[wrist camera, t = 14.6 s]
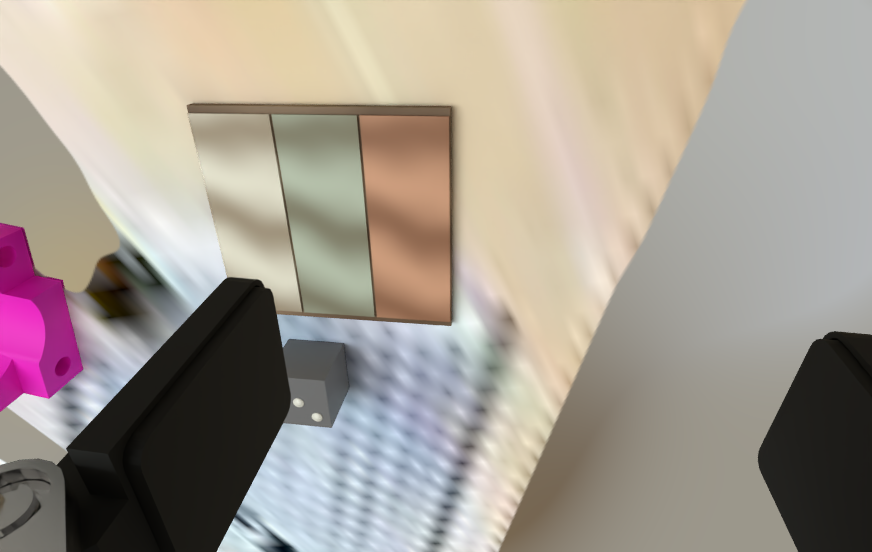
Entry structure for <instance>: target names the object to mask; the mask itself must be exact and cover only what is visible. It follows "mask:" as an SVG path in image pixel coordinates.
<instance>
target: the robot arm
mask: <svg viewBox="0 0 872 552" xmlns="http://www.w3.org/2000/svg"><path fill="white" fill-rule="evenodd" d="M290 404H291V392H290V387H289V381H288V375H287V370H286V364H285V359H284V353H283V347H282V342H281V336H280V330H279V325H278V319H277V313H276V308H275V302H274V296H273V293H272V291H271V289H269V288H265V287H264V284H263V283H262V281H260V280H259V279H248V278H237V277H228V278H226V279H225V280H224V281H223V282H222V283H221V284H220V285H219V286H218V287H217V288H216V289H215V290H214V291H213V292H212V293H211V294H210V296H209V297H208V298H207V299H206V300H205V301H204V302H203V303H202V304H201V305H200V306H199V307H198V308H197V309H196V310H195V312H194V313H193V314H192V315H191V316H190V317H189V318H188V319H187V320H186V321H185V322H184V323H183V324H182V325H181V326H180V328H179V329H178V330H177V331H176V332H175V333H174V334H173V335H172V336H171V337H170V338H169V339H168V340H167V341H166V342H165V343H164V345H163V346H162V347H161V348H160V349H159V350H158V351H157V352H156V353H155V354H154V355H153V356H152V357H151V358H150V359H149V361H148V362H147V363H146V364H145V365H144V366H143V367H142V368H141V369H140V370H139V371H138V372H137V373H136V374H135V375H134V377H133V378H132V379H131V380H130V381H129V382H128V383H127V384H126V385H125V386H124V387H123V388H122V389H121V390H120V391H119V393H118V394H117V395H116V396H115V397H114V398H113V399H112V400H111V401H110V402H109V403H108V404H107V405H106V406H105V407H104V408H103V410H102V411H101V412H100V413H99V414H98V415H97V416H96V417H95V418H94V419H93V420H92V421H91V422H90V423H89V424H88V426H87V427H86V428H85V429H84V430H83V431H82V432H81V433H80V434H79V435H78V436H77V437H76V438H75V439H74V440H73V442H72V443H71V444H70V445H69V446H68V447H67V448H66V449H67V451H68V453H67V455H66V456H65V457H64V458H63V459H62V460H61V461H60V462H59V463H58V464H57V465H55V464H54V463H53V462H51V461H47V460H42V459H25V460H18V461H14V462H10V463H6V464H3V465H0V552H217V550H218V548H219V546H220V544H221V542H222V540H223V538H224V536H225V534H226V532H227V530H228V528H229V526H230V525H231V523H232V521H233V519H234V517H235V515H236V513H237V511H238V509H239V507H240V505H241V503H242V501H243V499H244V497H245V496H246V494H247V492H248V490H249V488H250V486H251V484H252V482H253V480H254V478H255V476H256V474H257V472H258V470H259V469H260V467H261V465H262V463H263V461H264V459H265V457H266V455H267V453H268V451H269V449H270V447H271V445H272V443H273V442H274V440H275V438H276V436H277V434H278V432H279V430H280V428H281V426H282V424H283V422H284V420H285V418H286V416H287V414H288V412H289V409H290ZM758 463H759V468H760V471H761V474H762V476H763V478H764V480H765V482H766V484H767V486H768V488H769V491H770V493H771V495H772V497H773V499H774V501H775V503H776V505H777V507H778V509H779V512H780V514H781V516H782V518H783V520H784V522H785V524H786V526H787V529H788V531H789V533H790V535H791V537H792V539H793V541H794V544H795V546H796V547H797V550H798V552H872V335H870V334H857V333H846V332H836V331H834V332H830V333H828V334H827V335H825V336H824V338H823V339H818V340H816V341H814V342H813V343H812V345H811V346H810V348H809V350H808V352H807V354H806V356H805V358H804V361H803V362H802V364H801V367H800V368H799V371H798V373H797V374H796V376H795V379H794V381H793V383H792V385H791V387H790V389H789V391H788V393H787V395H786V397H785V399H784V401H783V403H782V405H781V407H780V409H779V411H778V413H777V415H776V417H775V419H774V421H773V423H772V425H771V427H770V429H769V431H768V433H767V435H766V437H765V439H764V441H763V443H762V445H761V447H760V450H759V454H758Z"/></svg>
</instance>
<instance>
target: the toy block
mask: <svg viewBox="0 0 872 552" xmlns="http://www.w3.org/2000/svg"><path fill="white" fill-rule="evenodd" d="M32 266H33V267H35V265H34V262H33V258H32V255H31V251H30V247H29V244H28V240H27V237H26V233H25V229H24V228H23V227H18V226H14V225H8V224H4V223H0V412H1V411H2V410H3V409H4V408H6V407H7V406H8V405H9V404H11V403H12V402H13V401H14V400H16V399H17V398H18V397H19V396H20V395H22V394H23V393H26V394H30V395H35V396H39V397H44V398H48V399H49V398H50V397H51V396H53V395H54V394H55V393H56V392H57V391H58V390H60V389H61V388H62V387H63V386H64V385H65V384H67V383H68V382H69V381H70V380H71V379H72V378H74V377H75V376H76V375H77V374H78V373H79V372H81V371H82V370H83V367H82V363H81V359H80V355H79V351H78V347H77V343H76V339H75V335H74V331H73V327H72V323H71V319H70V315H69V311H68V307H67V303H66V299H65V295H64V291H63V288H64V289H65V286H64V282H63V280H61V279H57V278H52V277H47V276H46V277H47V278H44V277H40V276H35V274H34V271H33V267H32Z"/></svg>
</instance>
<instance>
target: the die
mask: <svg viewBox="0 0 872 552" xmlns="http://www.w3.org/2000/svg"><path fill="white" fill-rule="evenodd" d="M283 353H284V359H285V364H286V370H287V375H288V381H289V387H290V392H291V404H290V409H289V412H288V414H287V416H286V418H285V420H284V422H283V423H289V424H299V425H309V426H319V427H329V428H332V426H333V424H334V421H335V419H336V417H337V415H338V412H339V410H340V408H341V405H342V403H343V401H344V399H345V396H346V394H347V392H348V390H349V382H348V374H347V366H346V358H345V351H344V343H333V342H319V341H306V340H293V339H289V340H288V341H287V343H286V344H285V346H284V347H283Z"/></svg>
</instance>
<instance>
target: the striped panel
mask: <svg viewBox="0 0 872 552" xmlns="http://www.w3.org/2000/svg"><path fill="white" fill-rule="evenodd" d="M187 109H188V113H187V114H188V118H189V122H190V126H191V130H192V134H193V138H194V143H195V147H196V151H197V155H198V159H199V163H200V167H201V171H202V176H203V180H204V184H205V188H206V192H207V196H208V200H209V204H210V209H211V213H212V217H213V221H214V225H215V229H216V233H217V237H218V242H219V246H220V250H221V254H222V258H223V262H224V266H225V270H226V275H227V278H228V277H237V278H248V279H259V280H260V281H262V283H263V284H264V287H265V288H269V289H271V291H272V293H273V296H274V302H275V308H276V313H277V314H284V315H298V316H313V317H328V318H342V319H357V320H372V321H386V322H401V323H416V324H430V325H445V326H451V324H452V200H451V106H366V105H261V104H189V105H187Z"/></svg>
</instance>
